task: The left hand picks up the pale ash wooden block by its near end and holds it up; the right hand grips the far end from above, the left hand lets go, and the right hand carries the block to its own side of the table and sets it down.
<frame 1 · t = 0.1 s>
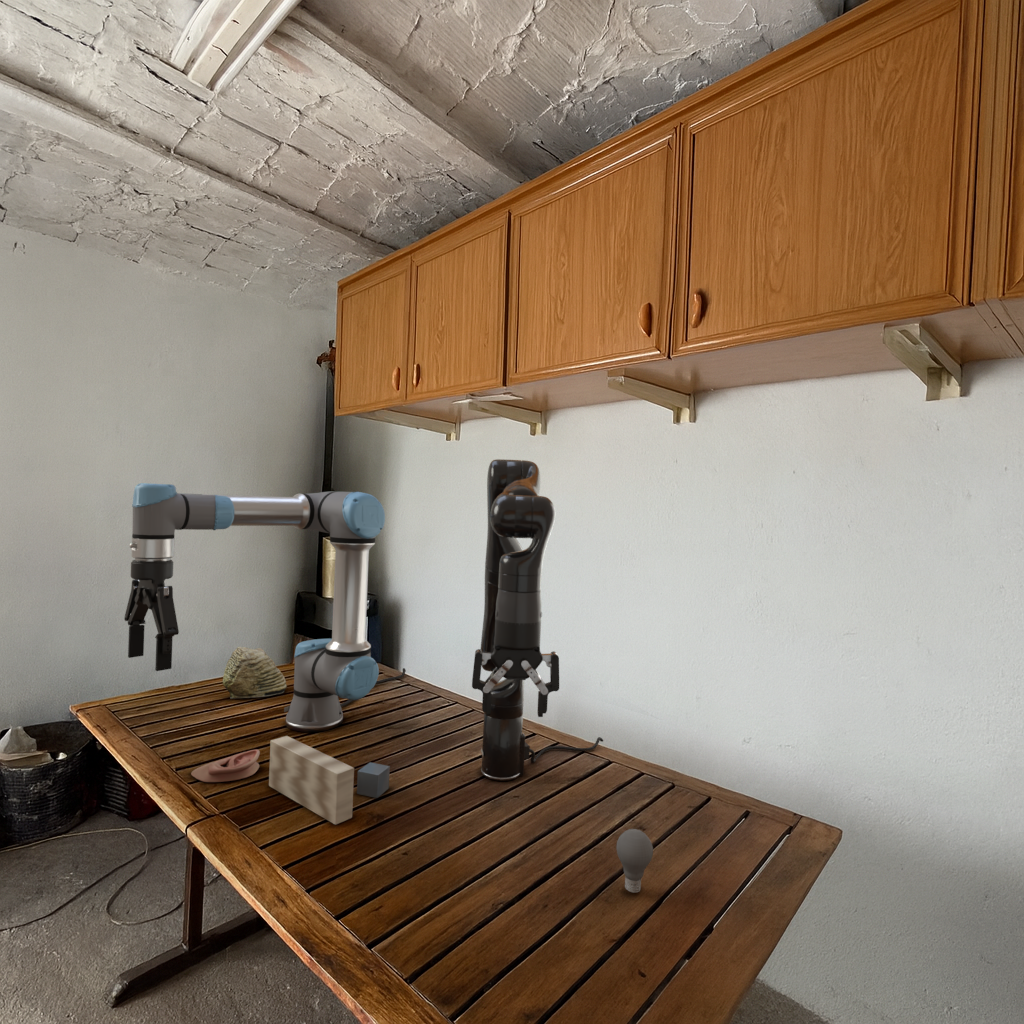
left hand: (149, 663, 129), 28 cm above the table, fingers open, 13 cm apart
right hand: (514, 714, 104), 29 cm above the table, fingers open, 8 cm apart
light bulb: (632, 891, 106), on the table
anatomical model: (225, 772, 143), on the table
ash block: (308, 801, 132), on the table
slate cube: (373, 791, 137), on the table
fossil: (254, 694, 198), on the table
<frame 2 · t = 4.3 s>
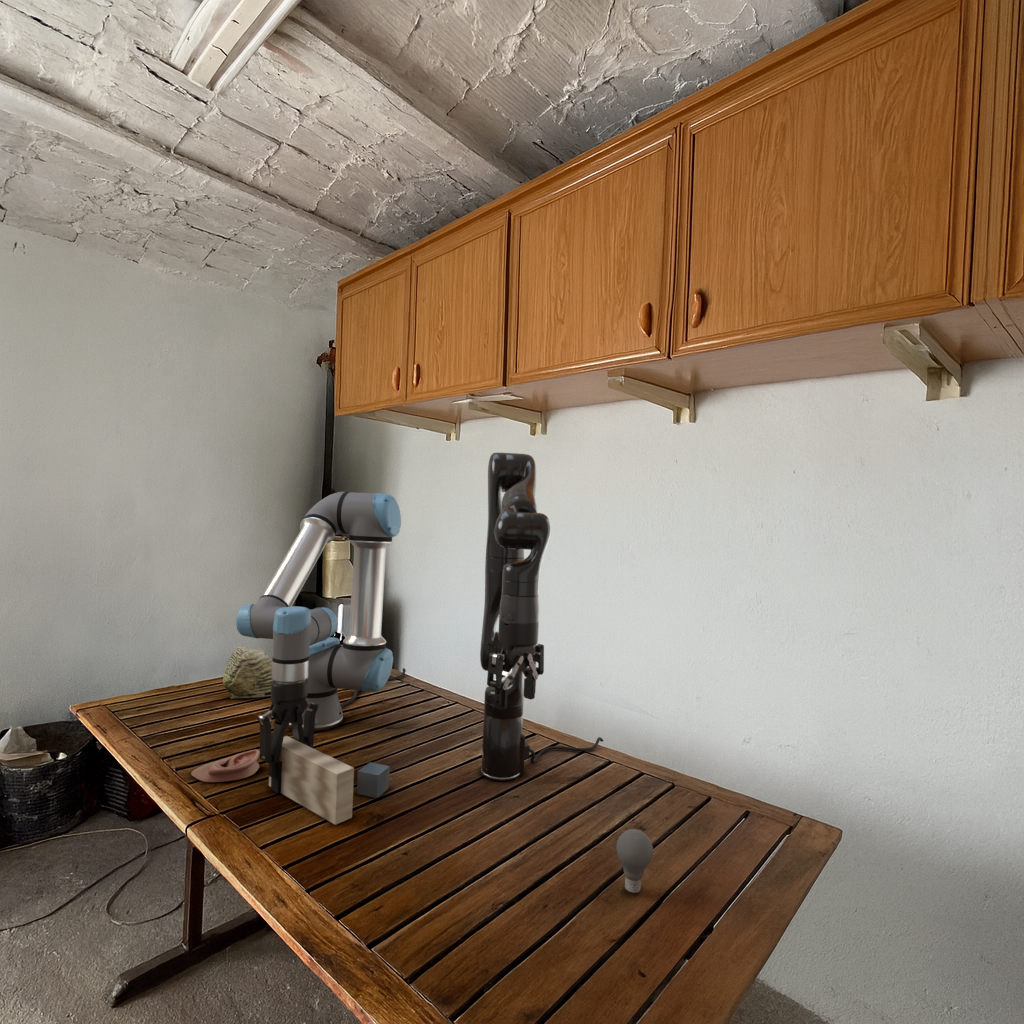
left hand: (285, 786, 137), 0 cm above the table, fingers closed on ash block, 4 cm apart
right hand: (515, 703, 120), 26 cm above the table, fingers open, 8 cm apart
ash block: (308, 801, 132), on the table, touching left hand
everything else where it was.
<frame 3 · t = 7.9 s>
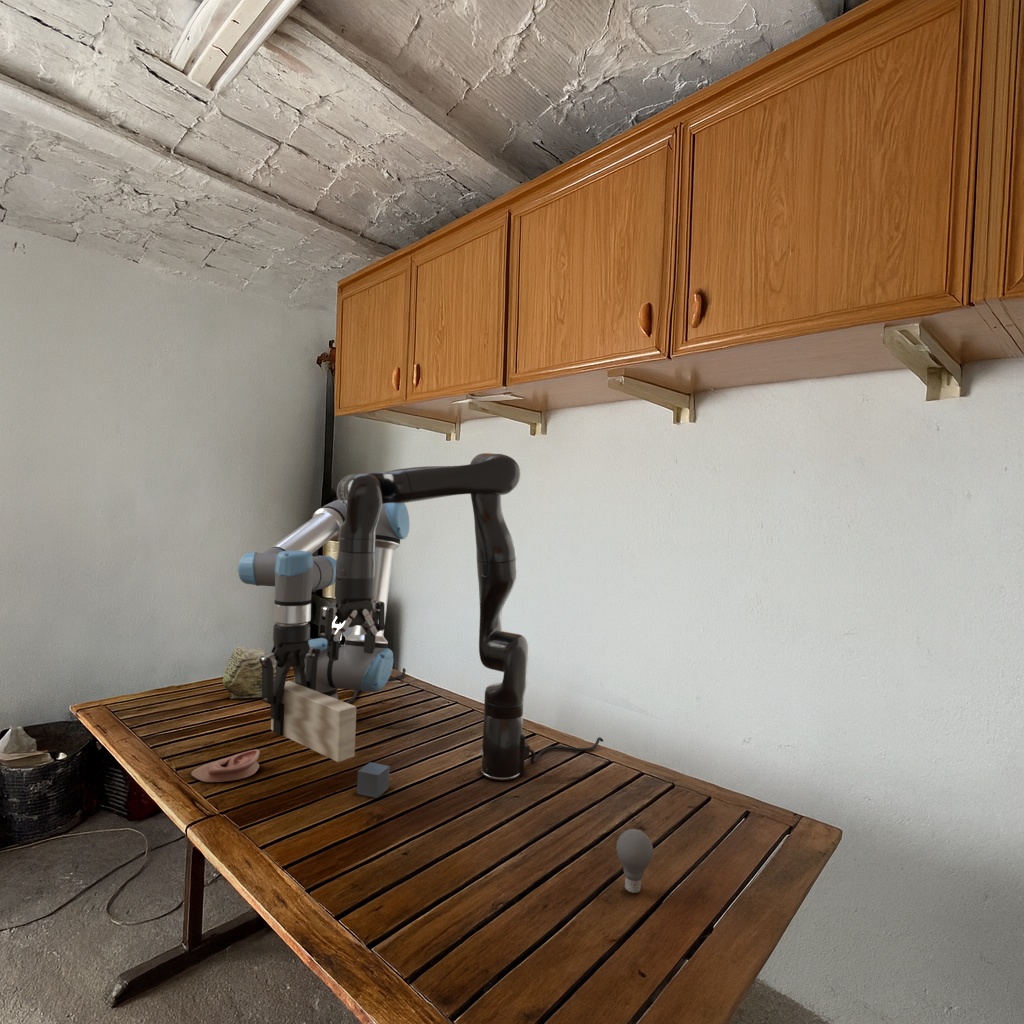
left hand: (288, 730, 137), 13 cm above the table, fingers closed on ash block, 4 cm apart
right hand: (351, 656, 125), 32 cm above the table, fingers open, 8 cm apart
ash block: (310, 742, 132), point 12 cm above the table, touching left hand
everything else where it was.
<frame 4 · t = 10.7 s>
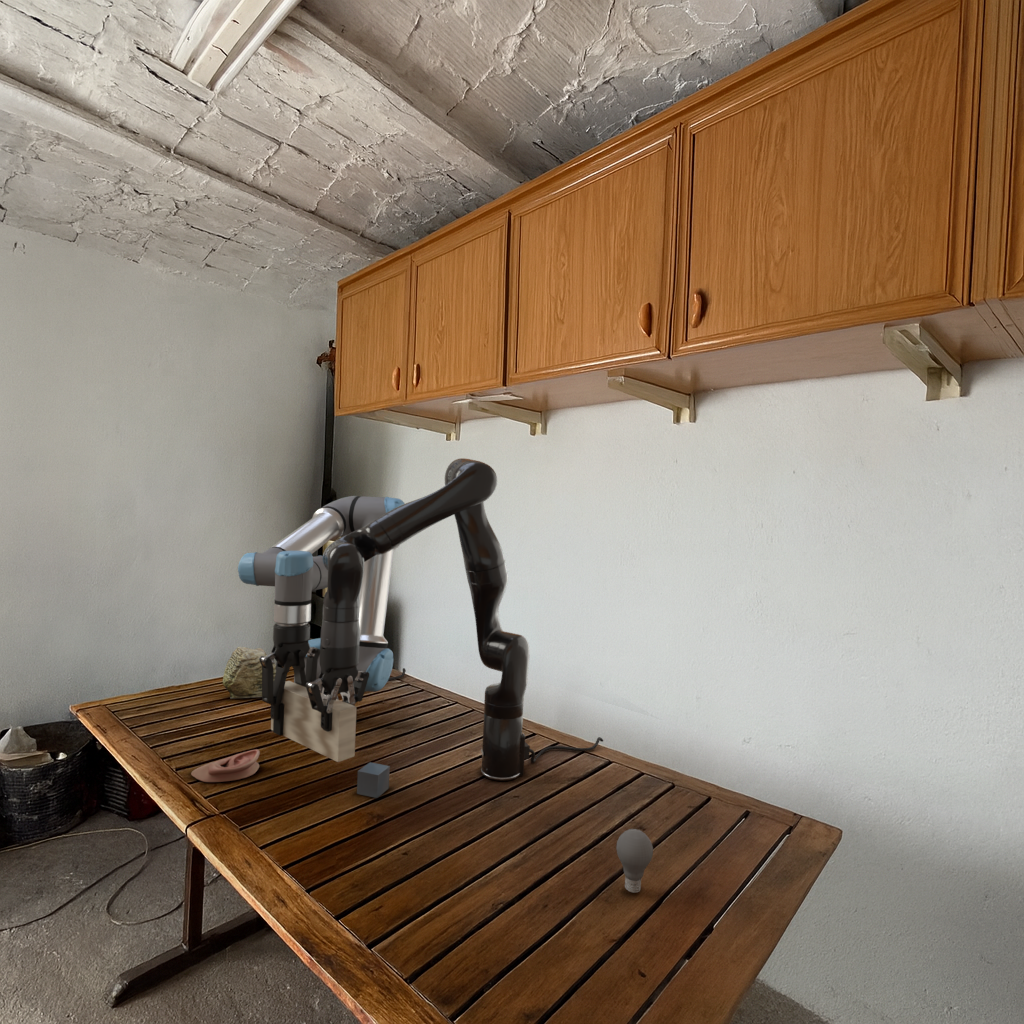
left hand: (288, 730, 137), 13 cm above the table, fingers closed on ash block, 4 cm apart
right hand: (336, 727, 126), 18 cm above the table, fingers closed on ash block, 4 cm apart
ash block: (310, 742, 132), point 12 cm above the table, touching left hand, right hand
everything else where it was.
when the left hand's fingers open (13 cm above the table, at t = 11.5 s): ash block stays where it is, held by the right hand.
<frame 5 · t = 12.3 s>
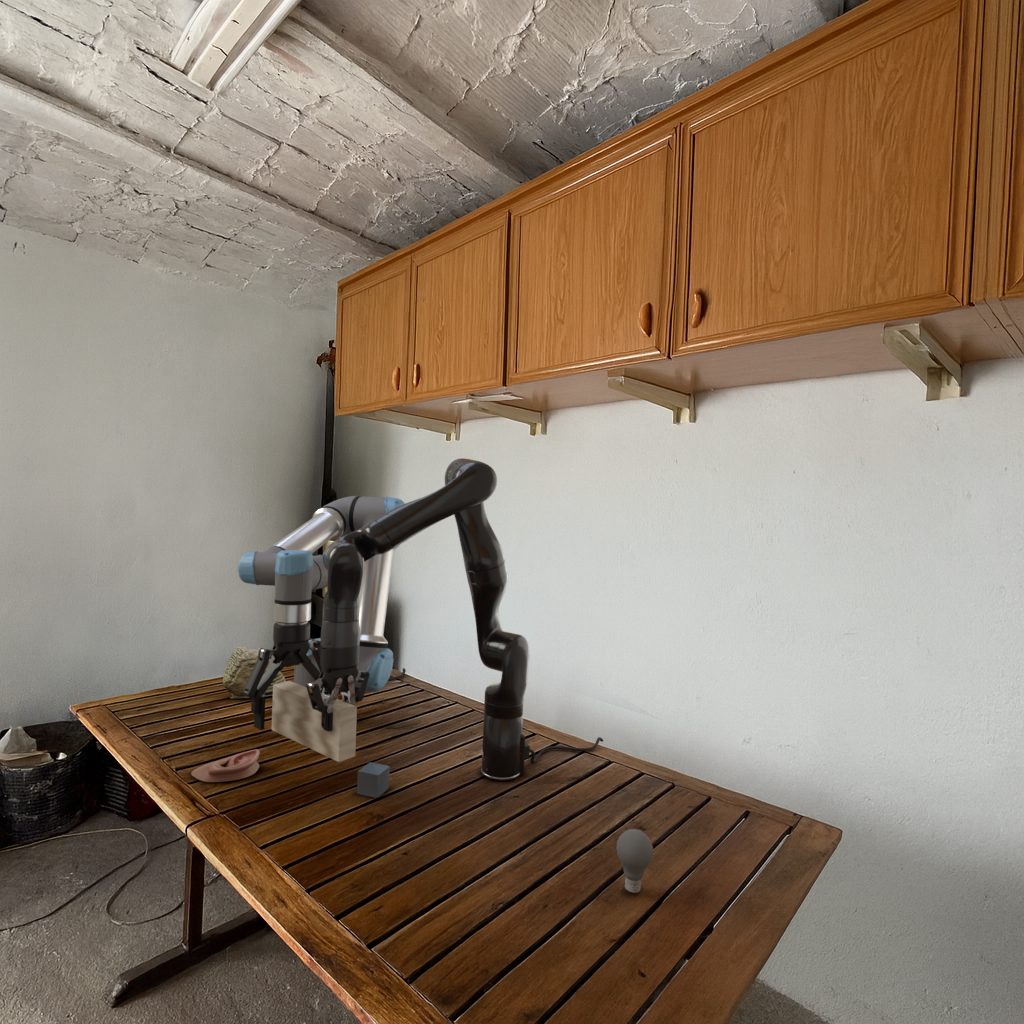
left hand: (288, 720, 137), 15 cm above the table, fingers open, 13 cm apart
right hand: (337, 726, 126), 18 cm above the table, fingers closed on ash block, 4 cm apart
ash block: (311, 742, 132), point 12 cm above the table, touching right hand
everything else where it was.
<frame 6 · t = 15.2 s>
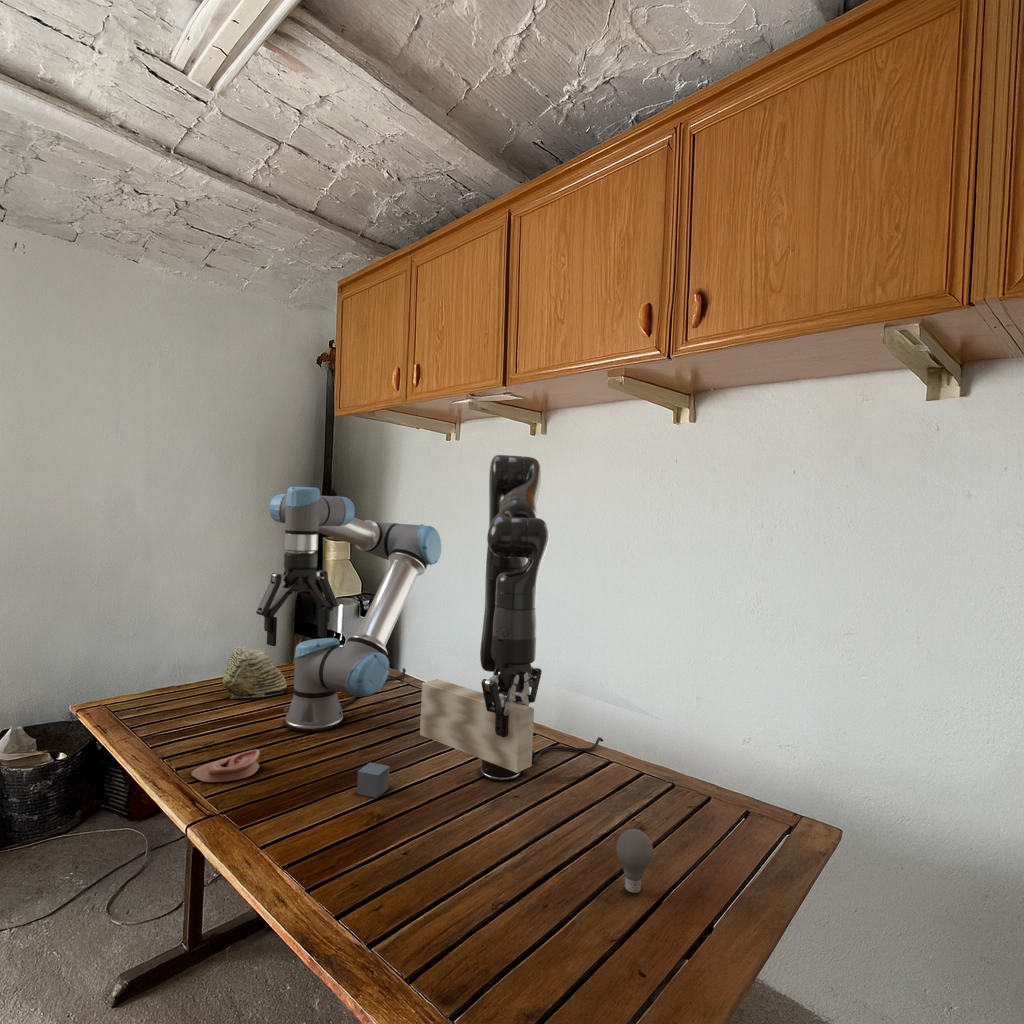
left hand: (297, 640, 151), 29 cm above the table, fingers open, 13 cm apart
right hand: (510, 731, 109), 25 cm above the table, fingers closed on ash block, 4 cm apart
ash block: (472, 749, 115), point 19 cm above the table, touching right hand
everything else where it was.
when the right hand's fingers open (7 cm above the table, at t = 19.6 s): ash block drops 1 cm, on the table.
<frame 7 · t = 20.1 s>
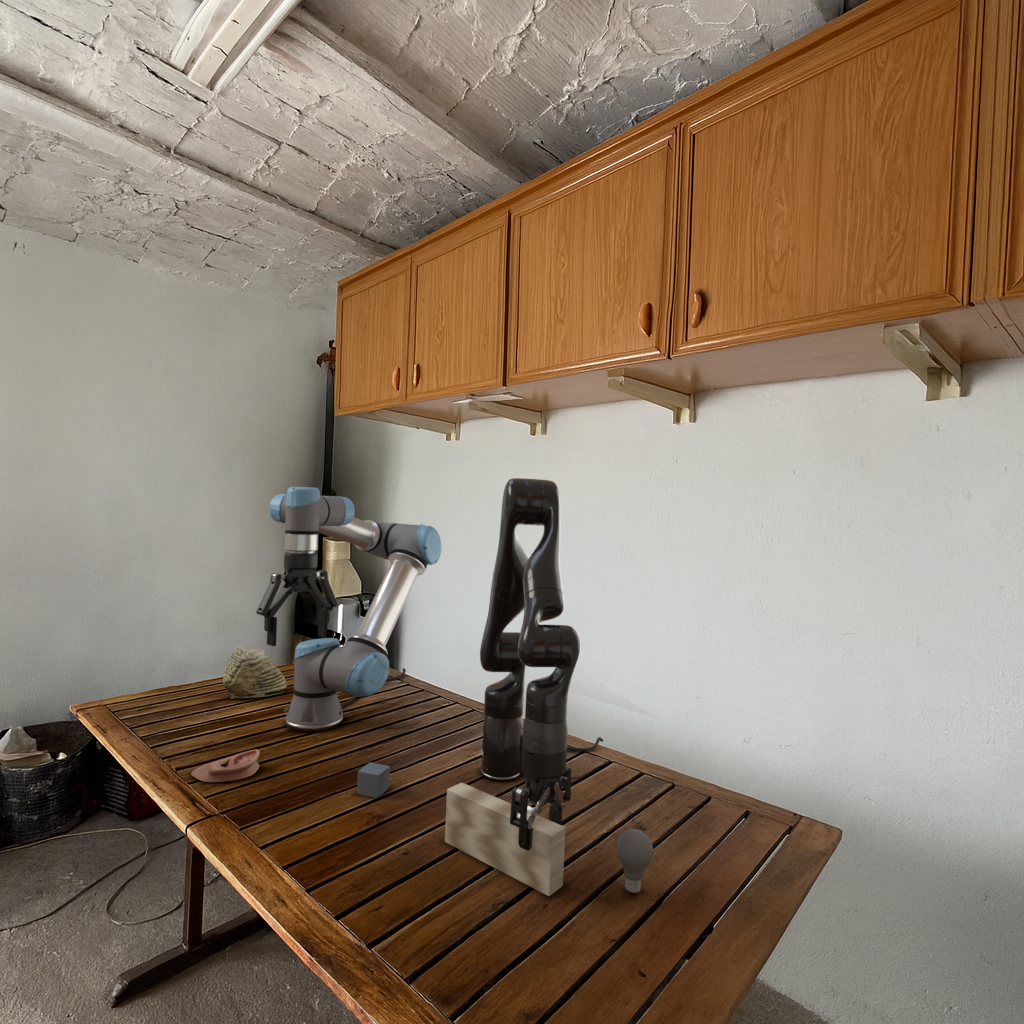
left hand: (297, 640, 151), 29 cm above the table, fingers open, 13 cm apart
right hand: (540, 838, 107), 8 cm above the table, fingers open, 8 cm apart
ash block: (500, 862, 112), on the table
everything else where it was.
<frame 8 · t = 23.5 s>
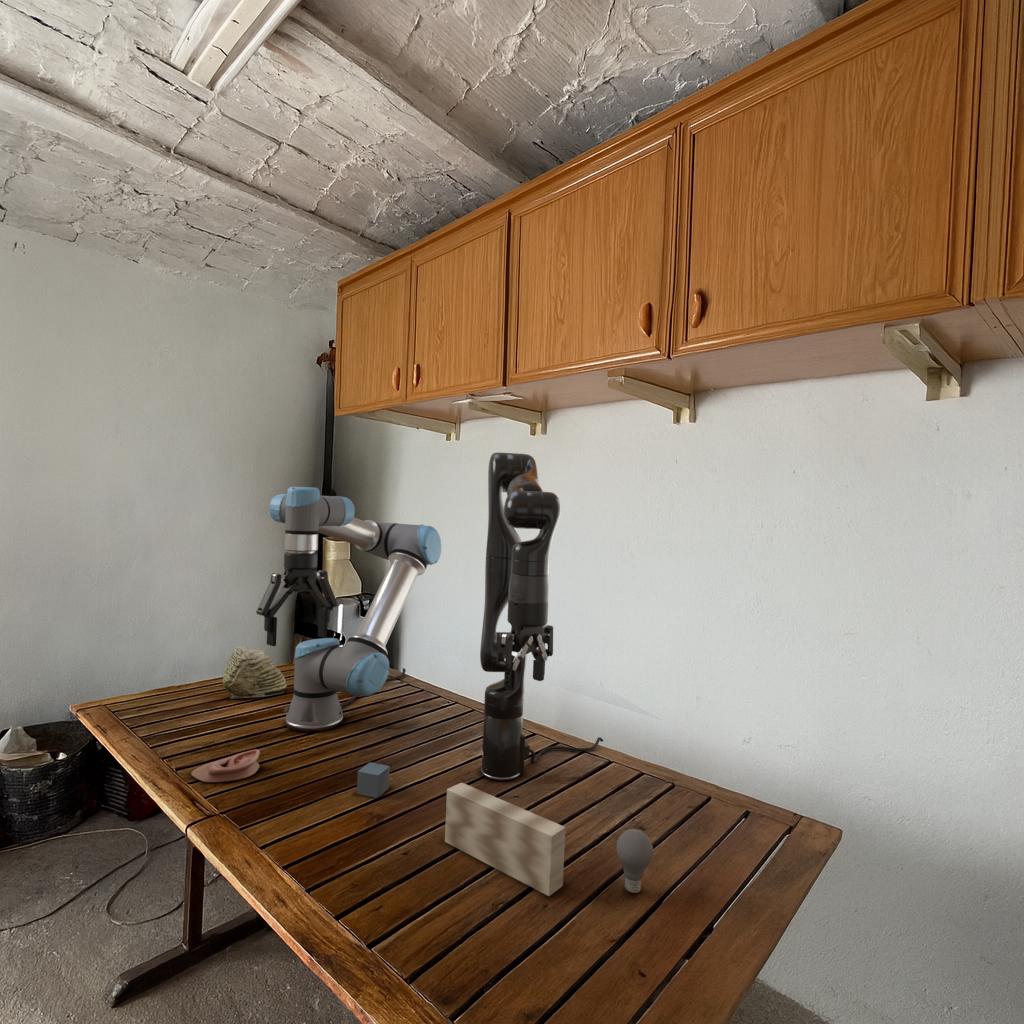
left hand: (297, 640, 151), 29 cm above the table, fingers open, 13 cm apart
right hand: (524, 684, 118), 30 cm above the table, fingers open, 8 cm apart
nothing on the table moved.
at the end: ash block inside the target area (0.1 cm from its centre), on the table; both hands held the ash block at the same time; the left hand is holding nothing; the right hand is holding nothing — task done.
